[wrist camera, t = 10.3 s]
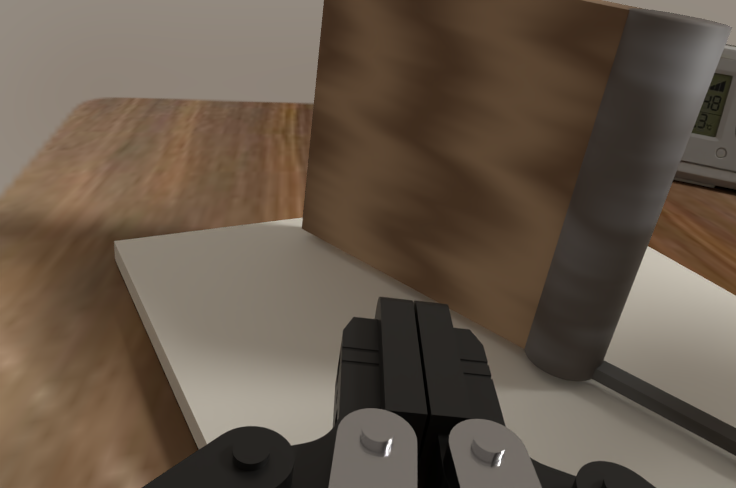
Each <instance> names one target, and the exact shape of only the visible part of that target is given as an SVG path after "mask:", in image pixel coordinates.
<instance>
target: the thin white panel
mask: <svg viewBox="0 0 736 488" xmlns="http://www.w3.org/2000/svg"><path fill="white" fill-rule="evenodd" d="M302 221H303V218H296V219H288V220H280V221H272V222H264V223H256V224H248V225H240V226H232V227H224V228H216V229H208V230H200V231H191V232H183V233H175V234H167V235H159V236H151V237H143V238H135V239H127V240H119V241H114V251H115V261H116V263H117V265H118V268H119V270H120V272H121V274H122V277H123V279H124V281H125V284H126V286H127V288H128V290H129V293H130V295H131V297H132V299H133V302H134V304H135V306H136V309H137V311H138V313H139V315H140V318H141V320H142V322H143V324H144V327H145V329H146V331H147V333H148V336H149V338H150V340H151V343H152V345H153V347H154V349H155V352H156V354H157V356H158V358H159V361H160V363H161V365H162V368H163V370H164V372H165V374H166V377H167V379H168V381H169V383H170V386H171V388H172V390H173V392H174V395H175V397H176V399H177V402H178V404H179V406H180V408H181V411H182V413H183V415H184V417H185V420H186V422H187V424H188V427H189V429H190V431H191V433H192V436H193V438H194V440H195V442H196V445H197V447H198V449H201V448H202V447H204V446H205V445H207V444H208V443H210V442H211V441H213V440H214V439H216V438H217V437H219V436H220V435H222V434H224V433H225V432H227V431H229V430H232V429H235V428H239V427H245V426H258V427H264V428H268V429H271V430H273V431H276V432H277V433H279V434H281V435H282V436H283V437H284V438H285V439H287V441H288V442H289V443H290V445H297V444H302V443H307V442H311V441H314V440H317V439H319V438H321V437H323V436H324V435H326V434H327V433H328V432H330V430H331V429H332V428H333V413H334V395H335V382H336V375H337V368H338V362H339V355H340V348H341V341H342V334H343V329H344V328H345V327H346V326H347V324H348V323H349V322H350V321H351V319H352V318H353V317H360V318H369V319H375V313H376V307H377V302H378V298H379V297H388V298H397V299H406V300H412V301H413V302H414V301H415V300H416V301H424V302H433V303H438V302H436V301H434V300H433V299H431V298H429V297H427V296H425V295H423V294H421V293H420V292H418V291H416V290H414V289H412V288H410V287H409V286H407V285H405V284H403V283H401V282H399V281H397V280H396V279H394V278H392V277H390V276H388V275H386V274H385V273H383V272H381V271H379V270H377V269H375V268H373V267H372V266H370V265H368V264H366V263H364V262H362V261H360V260H359V259H357V258H355V257H353V256H351V255H349V254H348V253H346V252H344V251H342V250H340V249H338V248H336V247H335V246H333V245H331V244H329V243H327V242H325V241H324V240H322V239H320V238H318V237H316V236H314V235H312V234H311V233H309V232H307V231H305V230H303V229H302ZM449 310H450V314H451V319H452V324H453V328H461V329H470V330H471V332H472V333H473V334H474V335H475V336H476V337H477V339H478V340H479V341H480V342H481V343H482V344H483V346H484V350H485V354H486V357H487V361H488V365H489V368H490V372H491V375H492V376H491V379H493V382H494V386H495V390H496V393H497V397H498V400H499V404H500V408H501V411H502V415H503V418H504V422H505V426H506V427H507V428H508V429H510V430H511V431H513V432H514V433H515V434H516V435H517V436H518V437H519V438H520V439H521V440H522V442H523V443H524V445H525V447H526V449H527V451H528V454H529V456H530V457H531V458H532V459H534V460H536V461H537V462H539V463H541V464H544V465H546V466H549V467H552V468H554V469H557V470H560V471H563V472H566V473H569V474H571V475H574V476H577V473H578V471H579V470H580V468H581V467H582V466H583V465H585V464H587V463H590V462H593V461H607V462H613V463H616V464H619V465H622V466H624V467H627V468H629V469H630V470H632V471H634V472H635V473H637V474H638V475H640V476H641V477H643V478H644V479H645V480H647V481H648V482H649V483H651V484H652V485H653V486H655V487H656V488H736V456H735V455H733V454H731V453H729V452H727V451H726V450H724V449H722V448H720V447H718V446H716V445H714V444H712V443H711V442H709V441H707V440H705V439H703V438H701V437H699V436H698V435H696V434H694V433H692V432H690V431H688V430H686V429H684V428H683V427H681V426H679V425H677V424H675V423H673V422H671V421H669V420H668V419H666V418H664V417H662V416H660V415H658V414H656V413H655V412H653V411H651V410H649V409H647V408H645V407H643V406H641V405H640V404H638V403H636V402H634V401H632V400H630V399H628V398H627V397H625V396H623V395H621V394H619V393H617V392H615V391H613V390H612V389H610V388H608V387H606V386H604V385H602V384H600V383H598V382H597V381H595V380H593V379H590V380H586V381H569V380H564V379H560V378H557V377H554V376H552V375H550V374H548V373H546V372H544V371H542V370H541V369H539V368H538V367H536V366H535V365H534V364H533V363H532V362H531V361H530V360H529V359H528V357H527V355H526V353H525V350H524V349H523V348H521V347H519V346H518V345H516V344H514V343H512V342H510V341H508V340H506V339H505V338H503V337H501V336H499V335H497V334H495V333H494V332H492V331H490V330H488V329H486V328H484V327H482V326H481V325H479V324H477V323H475V322H473V321H471V320H470V319H468V318H466V317H464V316H462V315H460V314H458V313H457V312H455V311H453V310H451V309H449ZM604 361H606V362H608V363H610V364H612V365H614V366H616V367H618V368H620V369H622V370H624V371H626V372H628V373H630V374H632V375H634V376H636V377H638V378H640V379H641V380H643V381H645V382H647V383H649V384H651V385H653V386H655V387H657V388H659V389H661V390H663V391H665V392H667V393H669V394H671V395H673V396H675V397H677V398H679V399H680V400H682V401H684V402H686V403H688V404H690V405H692V406H694V407H696V408H698V409H700V410H702V411H704V412H706V413H708V414H710V415H712V416H714V417H716V418H717V419H719V420H721V421H723V422H725V423H727V424H729V425H731V426H733V427H735V428H736V296H735V295H733V294H732V293H730V292H728V291H726V290H724V289H723V288H721V287H719V286H717V285H716V284H714V283H712V282H710V281H708V280H707V279H705V278H703V277H701V276H700V275H698V274H696V273H694V272H693V271H691V270H689V269H687V268H685V267H684V266H682V265H680V264H678V263H677V262H675V261H673V260H671V259H669V258H668V257H666V256H664V255H662V254H661V253H659V252H657V251H655V250H653V249H652V248H650V247H648V246H647V249H646V251H645V254H644V257H643V259H642V262H641V264H640V267H639V270H638V272H637V275H636V277H635V280H634V283H633V285H632V288H631V290H630V293H629V295H628V298H627V301H626V303H625V306H624V308H623V311H622V314H621V316H620V319H619V321H618V324H617V327H616V329H615V332H614V334H613V337H612V339H611V342H610V345H609V347H608V350H607V352H606V355H605V358H604Z"/></svg>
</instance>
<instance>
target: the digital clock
mask: <svg viewBox="0 0 736 488" xmlns="http://www.w3.org/2000/svg"><path fill="white" fill-rule="evenodd" d="M673 180H678V181H683V182H687V183H692V184H697V185H702V186H706V187H711V188H714V187H715V185H716V186H721V187H725V188H730V189H735V190H736V46H732V45H727V44H725V47H724V50H723V52H722V55H721V57H720V60H719V63H718V65H717V68H716V70H715V73H714V76H713V78H712V81H711V83H710V86H709V88H708V91H707V94H706V96H705V99H704V101H703V104H702V107H701V109H700V112H699V114H698V117H697V120H696V122H695V125H694V127H693V130H692V132H691V135H690V138H689V140H688V143H687V145H686V148H685V151H684V153H683V156H682V158H681V161H680V164H679V166H678V169H677V171H676V174H675V176H674V179H673Z"/></svg>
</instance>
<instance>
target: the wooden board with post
mask: <svg viewBox="0 0 736 488" xmlns="http://www.w3.org/2000/svg"><path fill="white" fill-rule="evenodd" d="M731 29H732V27H730V26H728V25H724V24H721V23H717V22H713V21H709V20H705V19H700V18H695V17H690V16H685V15H680V14H674V13H668V12H662V11H655V10H648V9H642V8H637V7H632V6H627V5H622V4H617V3H612V2H607V1H602V0H324V6H323V17H322V28H321V37H320V47H319V59H318V68H317V78H316V89H315V98H314V108H313V119H312V129H311V139H310V149H309V159H308V170H307V180H306V190H305V200H304V210H303V221H302V229H303V230H305V231H307V232H309V233H311V234H312V235H314V236H316V237H318V238H320V239H322V240H324V241H325V242H327V243H329V244H331V245H333V246H335V247H336V248H338V249H340V250H342V251H344V252H346V253H348V254H349V255H351V256H353V257H355V258H357V259H359V260H360V261H362V262H364V263H366V264H368V265H370V266H372V267H373V268H375V269H377V270H379V271H381V272H383V273H385V274H386V275H388V276H390V277H392V278H394V279H396V280H397V281H399V282H401V283H403V284H405V285H407V286H409V287H410V288H412V289H414V290H416V291H418V292H420V293H421V294H423V295H425V296H427V297H429V298H431V299H433V300H434V301H436V302H438V303H442V304H448V306H449V309H451V310H453V311H455V312H457V313H458V314H460V315H462V316H464V317H466V318H468V319H470V320H471V321H473V322H475V323H477V324H479V325H481V326H482V327H484V328H486V329H488V330H490V331H492V332H494V333H495V334H497V335H499V336H501V337H503V338H505V339H506V340H508V341H510V342H512V343H514V344H516V345H518V346H519V347H521V348H523V349H524V350H525V353H526V355H527V357H528V359H529V360H530V361H531V362H532V363H533V364H534V365H535V366H536V367H538V368H539V369H541V370H542V371H544V372H546V373H548V374H550V375H552V376H554V377H557V378H560V379H564V380H569V381H586V380H590V379H593V380H595V381H597V382H598V383H600V384H602V385H604V386H606V387H608V388H610V389H612V390H613V391H615V392H617V393H619V394H621V395H623V396H625V397H627V398H628V399H630V400H632V401H634V402H636V403H638V404H640V405H641V406H643V407H645V408H647V409H649V410H651V411H653V412H655V413H656V414H658V415H660V416H662V417H664V418H666V419H668V420H669V421H671V422H673V423H675V424H677V425H679V426H681V427H683V428H684V429H686V430H688V431H690V432H692V433H694V434H696V435H698V436H699V437H701V438H703V439H705V440H707V441H709V442H711V443H712V444H714V445H716V446H718V447H720V448H722V449H724V450H726V451H727V452H729V453H731V454H733V455H735V456H736V428H735V427H733V426H731V425H729V424H727V423H725V422H723V421H721V420H719V419H717V418H716V417H714V416H712V415H710V414H708V413H706V412H704V411H702V410H700V409H698V408H696V407H694V406H692V405H690V404H688V403H686V402H684V401H682V400H680V399H679V398H677V397H675V396H673V395H671V394H669V393H667V392H665V391H663V390H661V389H659V388H657V387H655V386H653V385H651V384H649V383H647V382H645V381H643V380H641V379H640V378H638V377H636V376H634V375H632V374H630V373H628V372H626V371H624V370H622V369H620V368H618V367H616V366H614V365H612V364H610V363H608V362H606V361H604V358H605V355H606V352H607V350H608V347H609V345H610V342H611V339H612V337H613V334H614V332H615V329H616V327H617V324H618V321H619V319H620V316H621V314H622V311H623V308H624V306H625V303H626V301H627V298H628V295H629V293H630V290H631V288H632V285H633V283H634V280H635V277H636V275H637V272H638V270H639V267H640V264H641V262H642V259H643V257H644V254H645V251H646V249H647V246H648V244H649V241H650V239H651V236H652V233H653V231H654V228H655V226H656V223H657V220H658V218H659V215H660V213H661V210H662V207H663V205H664V202H665V200H666V197H667V195H668V192H669V189H670V187H671V184H672V182H673V179H674V176H675V174H676V171H677V169H678V166H679V164H680V161H681V158H682V156H683V153H684V151H685V148H686V145H687V143H688V140H689V138H690V135H691V132H692V130H693V127H694V125H695V122H696V120H697V117H698V114H699V112H700V109H701V107H702V104H703V101H704V99H705V96H706V94H707V91H708V88H709V86H710V83H711V81H712V78H713V76H714V73H715V70H716V68H717V65H718V63H719V60H720V57H721V55H722V52H723V50H724V47H725V44H726V42H727V39H728V37H729V34H730V31H731Z"/></svg>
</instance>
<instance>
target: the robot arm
mask: <svg viewBox="0 0 736 488" xmlns="http://www.w3.org/2000/svg"><path fill="white" fill-rule="evenodd" d="M491 376H492V375H491V372H490V368H489V365H488V361H487V357H486V354H485V350H484V346H483V344H482V343H481V342H480V341H479V340H478V339H477V337H476V336H475V335H474V334H473V333H472V332H471V330H470V329H461V328H453V324H452V319H451V314H450V310H449V306H448V304H442V303H433V302H424V301H416V300H415V301H414V302H413V301H412V300H406V299H397V298H388V297H379V298H378V302H377V307H376V313H375V319H369V318H360V317H353V318H352V319H351V321H350V322H349V323H348V324H347V326H346V327H345V328H344V329H343V334H342V341H341V348H340V355H339V362H338V368H337V375H336V382H335V395H334V413H333V428H332V429H331V430H330V432H328V433H327V434H326V435H324V436H323V437H321V438H319V439H317V440H314V441H311V442H307V443H302V444H297V445H290V443H289V442H288V441H287V439H285V438H284V437H283V436H282V435H281V434H279V433H277V432H276V431H273V430H271V429H268V428H264V427H258V426H245V427H239V428H235V429H232V430H229V431H227V432H225V433H224V434H222V435H220V436H219V437H217V438H216V439H214V440H213V441H211V442H210V443H208V444H207V445H205V446H204V447H202V448H201V449H199V450H198V451H196V452H195V453H193V454H192V455H190V456H189V457H187V458H186V459H184V460H183V461H181V462H180V463H178V464H177V465H175V466H174V467H172V468H171V469H169V470H168V471H166V472H165V473H163V474H162V475H160V476H159V477H157V478H156V479H154V480H153V481H151V482H150V483H148V484H147V485H145V486H144V487H142V488H656V487H655V486H653V485H652V484H651V483H649V482H648V481H647V480H645V479H644V478H643V477H641V476H640V475H638V474H637V473H635V472H634V471H632V470H630V469H629V468H627V467H624V466H622V465H619V464H616V463H613V462H607V461H593V462H590V463H587V464H585V465H583V466H582V467H581V468H580V470H579V471H578V473H577V476H574V475H571V474H569V473H566V472H563V471H560V470H557V469H554V468H552V467H549V466H546V465H544V464H541V463H539V462H537V461H536V460H534V459H532V458H531V457H530V456H529V454H528V451H527V449H526V447H525V445H524V443H523V442H522V440H521V439H520V438H519V437H518V436H517V435H516V434H515V433H514V432H513V431H511V430H510V429H508V428H507V427H506V426H505V422H504V418H503V415H502V411H501V408H500V404H499V400H498V397H497V393H496V390H495V386H494V382H493V379H491Z"/></svg>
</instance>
